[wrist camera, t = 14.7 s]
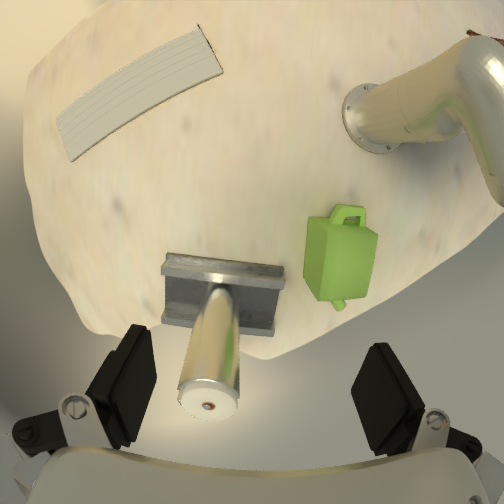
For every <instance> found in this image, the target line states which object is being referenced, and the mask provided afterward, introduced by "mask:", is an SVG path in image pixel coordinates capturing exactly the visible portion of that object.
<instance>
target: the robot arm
mask: <svg viewBox="0 0 504 504" xmlns="http://www.w3.org/2000/svg"><path fill="white" fill-rule="evenodd" d="M346 108H348V110H347V109H346ZM342 113H343V121H344V124H345V127H346V130H347V131H348V133H349V135H350V136H351V138H352V139H353V140H354V141H355V142H356V143H357V144H358V145H359V146H360V147H362V148H364V149H365V150H367V151H370V152H374V153H388V152H391V151H393V150H395V149H396V148H398V147H399V146H400V144H401V143H406V142H419V143H421V144H425V143H426V142H428V141H446V140H449V139H452V138H453V137H455V136H456V135H457V134H458V133H459V132H460V131H461V130H462V129H463V128H464V129H465V132H466V134H467V136H468V138H469V140H470V141H471V144H472V146H473V149H474V151H475V154H476V156H477V159H478V162H479V164H480V167H481V170H482V173H483V175H484V178H485V181H486V184H487V187H488V189H489V192H490V194H491V195H492V197H493V199H494V200H495V201H496V202H497V203H498V204H499V205H500V206H502V207H504V46H503V45H501V44H500V43H499V42H498V41H496V40H494V39H492V38H490V37H487V36H482V35H477V36H471V37H468V38H465V39H463V40H461V41H459V42H457V43H456V44H454V45H453V46H452V47H450V48H449V49H448V50H446V51H445V52H443V53H442V54H441V55H439V56H438V57H436V58H435V59H433V60H431V61H430V62H428V63H426V64H424V65H422V66H420V67H418V68H416V69H413V70H411V71H409V72H407V73H405V74H403V75H400V76H398V77H396V78H394V79H392V80H390V81H388V82H386V83H384V84H381V85H376V84H362V85H360V86H357V87H356V88H354V89H353V90H351V91H350V92H349V93H348V95H347V96H346V98H345V101H344V103H343V109H342ZM358 138H359V139H360V141H359V140H358ZM386 147H387V148H386ZM156 380H157V374H156V368H155V361H154V355H153V347H152V339H151V332H150V330H147V328H146V326H142V325H136V324H132V325H131V326H130V328H129V330H128V331H127V333H126V334H125V336H124V338H123V339H122V341H121V343H120V344H119V346H118V348H117V349H116V351H114V350H113V351H111V352H110V353H109V354H108V356H107V357H106V359H105V361H104V362H103V364H102V366H101V367H100V369H99V371H98V372H97V374H96V376H95V377H94V379H93V381H92V382H91V384H90V386H89V388H88V389H87V391H86V393H85V394H82V393H77V392H76V393H70V394H67V395H66V396H64V397H63V398H62V399H61V400H60V402H59V405H58V410H54V411H51V412H48V413H44V414H40V415H37V416H33V417H29V418H25V419H22V420H19V421H18V422H17V423H15V425H14V427H13V430H12V434H11V435H8V434H5V435H3V436H1V437H0V504H497V502H498V500H499V498H500V496H501V495H502V493H503V491H504V464H502V463H501V462H500V461H499V460H497V459H496V458H494V457H493V456H492V455H491V454H489V453H488V452H487V451H484V452H482V445H481V443H480V441H479V440H478V439H477V438H475V437H473V436H471V435H469V434H466V433H464V432H461V431H459V430H456V429H454V428H451V427H450V420H449V417H448V416H447V414H446V413H445V412H444V411H442V410H440V409H436V408H431V409H428V410H427V411H425V409H424V407H425V404H424V403H423V401H422V399H421V397H420V395H419V394H418V392H417V390H416V389H415V387H414V385H413V384H412V382H411V380H410V378H409V377H408V375H407V373H406V372H405V370H404V368H403V367H402V365H401V363H400V362H399V360H398V359H397V357H396V355H395V354H394V352H393V351H392V349H391V348H390V346H389V344H388V343H375V344H374V345H373V346H371V347H370V348H369V351H368V353H367V355H366V357H365V360H364V362H363V364H362V367H361V369H360V371H359V374H358V375H357V377H356V379H355V382H354V384H353V386H352V388H351V394H352V397H353V400H354V403H355V406H356V409H357V411H358V414H359V417H360V420H361V423H362V426H363V428H364V432H365V434H366V437H367V440H368V444H369V446H370V449H371V450H372V451H374V453H375V456H379V455H383V454H386V453H387V456H388V457H385V458H380V459H375V460H371V461H365V462H360V463H355V464H349V465H341V466H334V467H326V468H316V469H304V470H279V471H258V470H234V469H220V468H211V467H203V466H195V465H189V464H182V463H177V462H171V461H166V460H161V459H156V458H151V457H146V456H142V455H138V454H134V453H129V452H125V451H121V450H119V449H120V447H121V445H122V446H125V447H130V444H131V442H135V441H136V438H137V435H138V432H139V429H140V426H141V423H142V420H143V418H144V415H145V412H146V409H147V406H148V403H149V400H150V397H151V395H152V392H153V389H154V386H155V384H156ZM35 480H36V481H35ZM34 481H35V484H34V486H33V488H31V487H32V483H33V482H34Z"/></svg>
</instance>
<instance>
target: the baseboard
mask: <svg viewBox="0 0 504 504" xmlns="http://www.w3.org/2000/svg"><path fill="white" fill-rule="evenodd" d="M197 25H198V24H197ZM198 27H199V25H198ZM200 29H201V28H199V29H197V30H195V31H192V32H190V33H188V34H185V35H183V36H181V37H179V38H177V39H175V40H172V41H170V42H168V43H166V44H164V45H162V46H160V47H158V48H156V49H155V50H153V51H151V52H149V53H147V54H145V55H144V56H142V57H140V58H138V59H137V60H135V61H133V62H132V63H130V64H128V65H127V66H125V67H123V68H122V69H120V70H119V71H117V72H116V73H114V74H112V75H111V76H109V77H108V78H107V79H105V80H104V81H102V82H101V83H99V84H98V85H97V86H95V87H94V88H92V89H91V90H90V91H88V92H87V93H86V94H84V95H83V96H82V97H81V98H79V99H78V100H77V101H76V102H74V103H73V104H72V105H71V106H69V107H68V108H67V109H66V110H65V111H63V112H62V113H61V114H60V115H59V116H58V117H57V122H56V123H57V126H58V129H59V132H60V135H61V138H62V141H63V144H64V146H65V149H66V153H67V155H68V158H69V161H70V162H73V161H74V160H75V159H77V158H78V157H79V156H81V155H82V154H83V153H84V152H86V151H87V150H88V149H90V148H91V147H92V146H94V145H95V144H97V143H98V142H99V141H101V140H102V139H104V138H105V137H106V136H108V135H109V134H111V133H112V132H114V131H115V130H117V129H118V128H120V127H121V126H123V125H124V124H126V123H128V122H129V121H131V120H132V119H134V118H136V117H137V116H139V115H141V114H142V113H144V112H146V111H147V110H149V109H151V108H153V107H154V106H156V105H158V104H160V103H162V102H163V101H165V100H167V99H169V98H171V97H173V96H175V95H177V94H179V93H181V92H183V91H185V90H187V89H189V88H191V87H193V86H195V85H197V84H200V83H202V82H204V81H206V80H209V79H211V78H213V77H215V76H218V75H220V74H223V71H222V69H221V67H220V65H219V62H218V60H216V59H217V58H215V57H216V56H214V55H215V54H213V53H214V52H212V51H213V50H211V49H212V47H211V46H210V44H209V42H208V40H207V39H205V38H206V37H204V35H203V32H201V31H202V30H200ZM206 40H207V41H206ZM207 42H208V43H207ZM210 47H211V48H210Z"/></svg>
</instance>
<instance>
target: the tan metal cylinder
mask: <svg viewBox="0 0 504 504" xmlns="http://www.w3.org/2000/svg"><path fill="white" fill-rule="evenodd" d="M239 324H240V293H239V290H238V288H237V287H236V285H235V284H226V283H218V282H209V283H208V284H207V285H206V286H205V288H204V290H203V293H202V297H201V300H200V304H199V307H198V311H197V315H196V318H195V322H194V326H193V329H192V333H191V337H190V341H189V345H188V348H187V352H186V356H185V360H184V364H183V368H182V372H181V376H180V380H179V384H178V388H177V389H178V390H179V394H178V398H177V399H178V402H179V403H180V405H181V406H182V407H183V409H184V410H185V411H186V412H187V413H188V414H190V415H191V416H193V417H194V418H197V419H200V420H204V421H221V420H225V419H228V418H229V417H231V416H232V415H233V414H234V413H235V412H236V410H237V398H240V397H239V396H240V394H239V393H240V391H239V390H240V389H239Z"/></svg>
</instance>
